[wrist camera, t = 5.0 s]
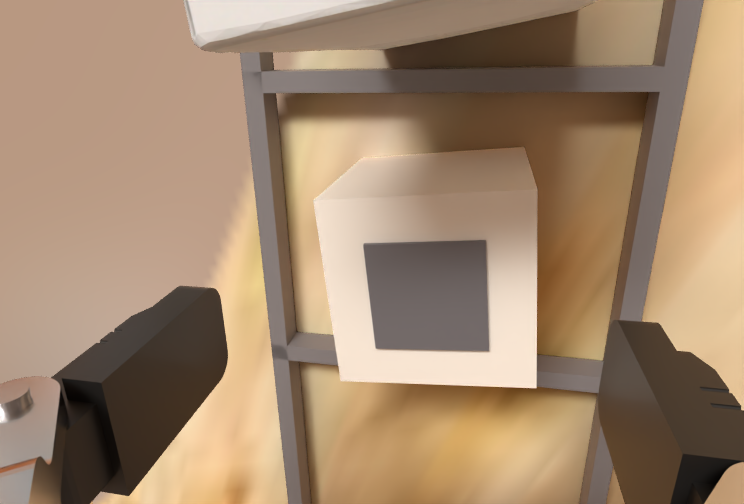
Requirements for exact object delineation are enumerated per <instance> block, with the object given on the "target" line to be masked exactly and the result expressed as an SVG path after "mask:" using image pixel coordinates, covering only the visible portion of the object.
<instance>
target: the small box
mask: <svg viewBox="0 0 744 504" xmlns="http://www.w3.org/2000/svg"><path fill="white" fill-rule="evenodd" d="M596 1H598V0H184V5H185V9H186V14H187V19H188V23H189V28H190V31H191V35H192V39H193V42H194V44H195V45H196V46H197V47H198V48H200V49H202V50H204V51H210V52H218V53H223V52H234V53H246V52H297V51H315V50H318V51H320V50H384V49H389V48H394V47H399V46H405V45H410V44H416V43H422V42H427V41H433V40H438V39H443V38H448V37H453V36H458V35H463V34H468V33H473V32H478V31H482V30H487V29H492V28H497V27H502V26H506V25H511V24H516V23H520V22H525V21H530V20H535V19H539V18H544V17H549V16H554V15H559V14H564V13H568V12H573V11H577V10H579V9H581V8H583V7H585V6H587V5H590V4H592V3H594V2H596Z"/></svg>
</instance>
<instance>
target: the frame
mask: <svg viewBox="0 0 744 504" xmlns="http://www.w3.org/2000/svg"><path fill="white" fill-rule="evenodd" d="M703 1H704V0H664V4H663V10H662V16H661V22H660V28H659V34H658V40H657V46H656V52H655V57H654V63H653V65H625V66H548V67H470V68H393V69H315V70H274V64H273V52H246V53H240V58H241V67H242V77H243V86H244V96H245V105H246V114H247V124H248V132H249V142H250V151H251V161H252V170H253V179H254V189H255V198H256V207H257V216H258V226H259V235H260V244H261V254H262V263H263V272H264V281H265V291H266V300H267V309H268V319H269V328H270V337H271V347H272V356H273V365H274V374H275V384H276V393H277V402H278V412H279V421H280V430H281V439H282V449H283V458H284V467H285V477H286V486H287V495H288V504H311V495H310V483H309V472H308V460H307V448H306V437H305V425H304V413H303V402H302V390H301V379H300V367H299V361H300V362H310V363H319V364H329V365H338V360H337V354H336V347H335V340H334V335H324V334H314V333H303V332H296V320H295V309H294V297H293V285H292V274H291V262H290V250H289V239H288V227H287V215H286V204H285V192H284V181H283V169H282V157H281V146H280V134H279V122H278V111H277V99H276V93H448V92H649V93H648V99H647V105H646V111H645V117H644V123H643V128H642V134H641V140H640V146H639V152H638V158H637V164H636V170H635V176H634V182H633V188H632V193H631V199H630V205H629V211H628V217H627V223H626V229H625V235H624V241H623V247H622V253H621V259H620V264H619V270H618V276H617V282H616V288H615V294H614V300H613V306H612V312H611V318H610V324H609V329H610V326H611V323H612V321H613V320H627V321H640V322H641V320H642V315H643V310H644V305H645V300H646V294H647V289H648V284H649V279H650V274H651V269H652V264H653V258H654V253H655V248H656V243H657V238H658V233H659V228H660V222H661V217H662V212H663V207H664V202H665V197H666V192H667V186H668V181H669V176H670V171H671V166H672V161H673V156H674V150H675V145H676V140H677V135H678V130H679V125H680V120H681V115H682V109H683V104H684V99H685V94H686V89H687V84H688V79H689V73H690V68H691V63H692V58H693V53H694V48H695V43H696V37H697V32H698V27H699V22H700V17H701V12H702V7H703ZM609 329H608V333H609ZM607 339H608V335H607ZM606 345H607V341H606ZM605 351H606V347H605ZM604 357H605V353H604ZM603 362H604V359H603V361H599V360H589V359H578V358H568V357H557V356H547V355H537V386H536V387H544V388H554V389H563V390H573V391H582V392H591V393H599V386H600V380H601V374H602V368H603ZM612 469H613V463H612V460H611V456H610V453H609V450H608V447H607V444H606V440H605V437H604V434H603V431H602V427H601V424H600V420H599V412H598V395H597V400H596V406H595V412H594V418H593V424H592V430H591V436H590V442H589V448H588V454H587V460H586V465H585V471H584V477H583V483H582V489H581V495H580V501H579V504H606V500H607V495H608V490H609V485H610V479H611V474H612Z"/></svg>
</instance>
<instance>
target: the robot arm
mask: <svg viewBox="0 0 744 504" xmlns="http://www.w3.org/2000/svg"><path fill="white" fill-rule="evenodd" d="M227 359H228V350H227V342H226V335H225V328H224V320H223V313H222V305H221V299H220V295H219V293H218V291H217V290H216V289H214V288H205V287H192V286H191V287H190V286H179V287H177V288H176V289H175V290H173V291H172V292H171V293H169V294H168V295H167V296H165V297H164V298H163V299H162V300H160V301H159V302H158V303H157V304H155V305H154V306H153V307H151V308H149V309H146V310H144V311H142V312H140V313H138V314H135V315H133V316H131V317H130V318H129V319H127V320H126V321H125V322H123V323H122V324H121V325H119V326H118V327H117V328H115V331H114V332H110V333H109V334H108V335H106V336H105V337H104V338H102V339H101V340H100V343H96V344H95V345H93V346H92V347H91V348H89V349H88V350H87V351H85V352H84V353H83V354H82V355H80V356H79V357H77V358H76V359H75V360H74V361H72V362H71V363H70V364H68V365H67V366H66V367H64V368H63V369H62V370H60V371H59V372H58V373H57V374H55V375H54V376H53V377H51V378H49V377H42V376H32V377H24V378H19V379H14V380H11V381H7V382H4V383H1V384H0V504H93V502H92V501H93V500H94V498H95V497H96V496H97V495H98V494H99V493H100V492H107V493H114V494H120V495H126V496H129V495H130V494H131V493H132V491H133V490H134V489H135V488H136V486H137V485H138V484H139V483H140V481H141V480H142V479H143V478H144V476H145V475H146V474H147V473H148V471H149V470H150V469H151V467H152V466H153V465H154V464H155V462H156V461H157V460H158V459H159V457H160V456H161V455H162V454H163V452H164V451H165V450H166V449H167V447H168V446H169V445H170V443H171V442H172V441H173V440H174V438H175V437H176V436H177V435H178V433H179V432H180V431H181V430H182V428H183V427H184V426H185V424H186V423H187V422H188V421H189V419H190V418H191V417H192V416H193V414H194V413H195V412H196V411H197V409H198V408H199V407H200V406H201V404H202V403H203V402H204V400H205V399H206V398H207V397H208V395H209V394H210V393H211V392H212V390H213V389H214V388H215V387H216V385H217V384H218V383H219V381H220V380H221V379H222V377H223V375H224V372H225V369H226V366H227ZM598 412H599V420H600V424H601V427H602V431H603V434H604V437H605V440H606V444H607V447H608V450H609V453H610V456H611V460H612V463H613V466H614V469H615V473H616V476H617V479H618V482H619V486H620V489H621V492H622V495H623V499H624V502H625V504H744V411H742V410H741V405H740V404H739V403H738V401H737V400H736V398H735V397H734V396H733V394H732V393H729V389H728V387H727V386H726V385H725V383H724V382H723V380H722V379H721V378H720V376H719V375H718V373H717V372H716V371H715V369H713V368H712V367H710V366H709V365H708V364H706V363H705V362H703V361H702V360H701V359H699V358H698V357H696V356H695V355H694V354H692V353H691V352H683V351H677V350H676V349H675V347H674V346H673V344H672V343H671V341H670V339H669V338H668V336H667V335H666V333H665V332H664V330H663V328H662V327H661V325H660V324H658V323H653V322H640V321H627V320H613V321H612V323H611V326H610V329H609V333H608V339H607V345H606V351H605V357H604V362H603V368H602V374H601V380H600V386H599V393H598Z"/></svg>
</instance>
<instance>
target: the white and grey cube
mask: <svg viewBox="0 0 744 504" xmlns="http://www.w3.org/2000/svg"><path fill="white" fill-rule="evenodd" d="M537 199H538V189H537V186H536V183H535V179H534V176H533V173H532V170H531V166H530V163H529V160H528V157H527V153H526V150H525V147H513V148H499V149H484V150H469V151H454V152H439V153H425V154H410V155H395V156H380V157H366V158H361V159H360V160H358V161H357V162H356V163H355V164H354V165H353V166H352V167H350V168H349V169H348V170H347V171H346V172H345V173H344V174H343V175H341V176H340V177H339V178H338V179H337V180H336V181H335V182H333V183H332V184H331V185H330V186H329V187H328V188H327V189H326V190H324V191H323V192H322V193H321V194H320V195H319V196H318V197H317V198H315V199H314V200H313V202H314V208H315V215H316V222H317V228H318V235H319V241H320V248H321V255H322V261H323V268H324V274H325V281H326V288H327V294H328V301H329V307H330V314H331V321H332V327H333V334H334V340H335V347H336V354H337V360H338V367H339V373H340V380H341V381H353V382H380V383H407V384H434V385H462V386H489V387H516V388H536V386H537Z"/></svg>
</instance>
